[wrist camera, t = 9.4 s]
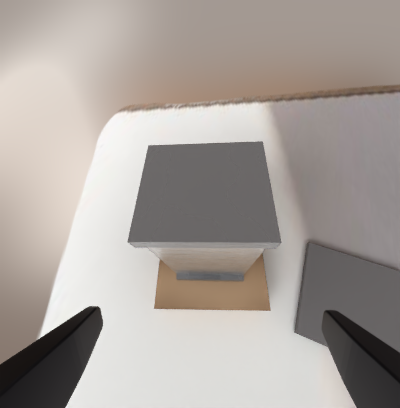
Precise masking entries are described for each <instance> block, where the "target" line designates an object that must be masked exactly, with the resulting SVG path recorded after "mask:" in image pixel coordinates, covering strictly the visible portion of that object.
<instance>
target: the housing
mask: <svg viewBox="0 0 400 408" xmlns="http://www.w3.org/2000/svg"><path fill="white" fill-rule="evenodd" d="M128 243H130V244H131V245H132V246H133V247H135V248H149V249H150V250H151V251H152V252H153V253H154V254H155V255H156V256H157V257H158V258H160V259H161V260H162V261H163V262H164V263H165V264H166V265H167V266H168V267H170V268H171V269H172V270H173V271H174V272H175V273H176V274H177V276H176V279H177V280H188V281H237V282H243V281H244V274H245V273H246V272H247V270H248V269H249V268H250V267H251V266H252V264H253V263H254V262H255V261H256V259H257V258H258V257H259V256H260V255H261V253H262V252H263V251H264V250H265V248H277V247H278V245H279V244H280V243H281V239H280V233H279V228H278V222H277V217H276V212H275V206H274V201H273V195H272V190H271V184H270V179H269V173H268V168H267V162H266V157H265V151H264V146H263V142H235V143H207V144H179V145H150V146H148V150H147V155H146V160H145V164H144V169H143V173H142V178H141V183H140V187H139V192H138V196H137V201H136V205H135V210H134V215H133V219H132V224H131V228H130V233H129V238H128Z"/></svg>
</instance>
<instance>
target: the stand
mask: <svg viewBox="0 0 400 408" xmlns="http://www.w3.org/2000/svg"><path fill="white" fill-rule="evenodd" d="M176 276H177V274H176V273H175V272H174V271H173V270H172V269H171V268H170V267H168V266H167V265H166V264H165V263H164V262H163V261H162V260H161V259H160V263H159V271H158V280H157V289H156V297H155V306H154V309H203V310H263V311H271V310H270V303H269V296H268V289H267V282H266V276H265V269H264V262H263V255H262V253H261V255H260V256H259V257H258V258H257V259H256V261H255V262H254V263H253V264H252V266H251V267H250V268H249V269H248V270H247V272H246V273H245V274H244V281H243V282H237V281H188V280H177V279H176Z"/></svg>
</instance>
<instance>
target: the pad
mask: <svg viewBox="0 0 400 408" xmlns="http://www.w3.org/2000/svg"><path fill="white" fill-rule="evenodd" d="M325 310H337V311H339V312H340V313H342V314H343V315H345V316H346V317H348V318H349V319H351V320H352V321H354V322H355V323H357V324H358V325H360V326H361V327H363V328H364V329H366V330H367V331H368V332H370V333H371V334H373V335H374V336H376V337H377V338H379V339H380V340H382V341H383V342H385V343H386V344H388V345H389V346H391V347H392V348H394V349H395V350H397V351H398V352H400V271H397V270H394V269H391V268H388V267H385V266H382V265H379V264H376V263H372V262H369V261H366V260H363V259H360V258H357V257H354V256H351V255H348V254H344V253H341V252H338V251H335V250H332V249H329V248H326V247H323V246H319V245H316V244H313V243H310V242H309V243H307V248H306V255H305V262H304V269H303V276H302V283H301V290H300V297H299V304H298V311H297V318H296V325H295V333H297V334H299V335H302V336H304V337H306V338H308V339H311V340H313V341H315V342H318V343H320V344H322V345H325V346H327V347H328V345H327V343H326V341H325V338H324V336H323V333H322V330H321V325H322V318H323V312H324V311H325Z"/></svg>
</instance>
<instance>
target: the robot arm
mask: <svg viewBox="0 0 400 408" xmlns="http://www.w3.org/2000/svg"><path fill="white" fill-rule="evenodd" d="M102 327H103V319H102V315H101V310H100V308H99V307H98V306H89V307H87V308H86V309H84V310H82V311H81V312H79V313H78V314H76V315H75V316H73V317H72V318H70V319H69V320H67V321H66V322H64V323H63V324H61V325H60V326H58V327H57V328H55V329H54V330H52V331H50V332H49V333H47V334H46V335H44V336H43V337H41V338H40V339H38V340H37V341H35V342H34V343H32V344H31V345H29V346H28V347H26V348H25V349H23V350H22V351H20V352H18V353H17V354H16V355H14V356H12V357H11V358H9V359H8V360H6V361H5V362H3V363H2V364H0V408H65V407H66V405H67V403H68V401H69V399H70V397H71V396H72V394H73V392H74V390H75V388H76V386H77V384H78V382H79V380H80V378H81V376H82V374H83V372H84V370H85V368H86V365H87V363H88V361H89V358H90V356H91V354H92V351H93V349H94V346H95V344H96V342H97V339H98V337H99V335H100V332H101V330H102ZM321 330H322V333H323V336H324V338H325V341H326V343H327V345H328V348H329V350H330V352H331V355H332V357H333V359H334V362H335V364H336V366H337V369H338V371H339V373H340V375H341V378H342V380H343V382H344V384H345V386H346V388H347V390H348V392H349V394H350V396H351V398H352V400H353V402H354V403H355V405H356V407H357V408H400V352H398V351H397V350H395V349H394V348H392V347H391V346H389V345H388V344H386V343H385V342H383V341H382V340H380V339H379V338H377V337H376V336H374V335H373V334H371V333H370V332H368V331H367V330H366V329H364V328H363V327H361V326H360V325H358V324H357V323H355V322H354V321H352V320H351V319H349V318H348V317H346V316H345V315H343V314H342V313H340V312H339V311H337V310H325V311H324V312H323V318H322V325H321Z"/></svg>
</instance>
